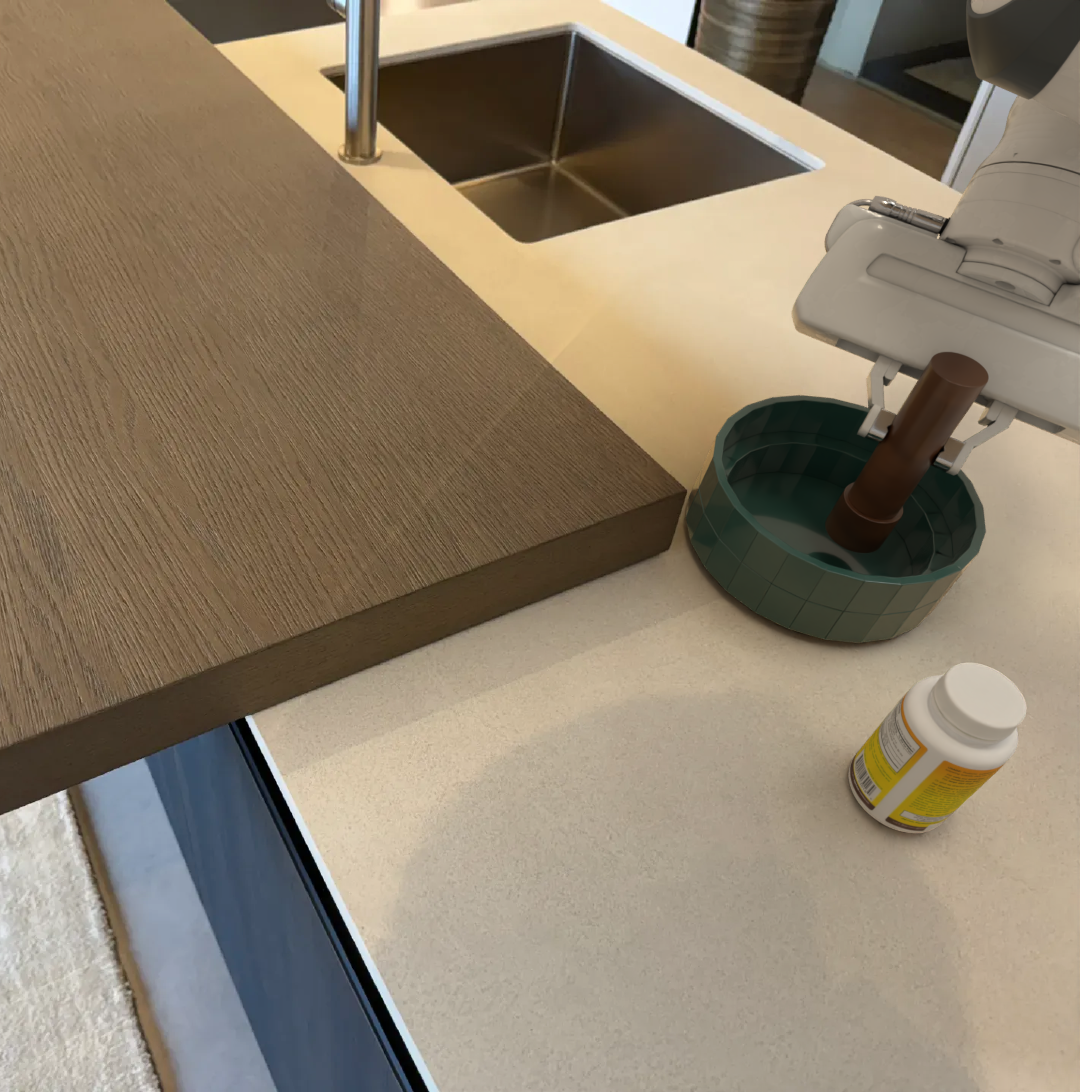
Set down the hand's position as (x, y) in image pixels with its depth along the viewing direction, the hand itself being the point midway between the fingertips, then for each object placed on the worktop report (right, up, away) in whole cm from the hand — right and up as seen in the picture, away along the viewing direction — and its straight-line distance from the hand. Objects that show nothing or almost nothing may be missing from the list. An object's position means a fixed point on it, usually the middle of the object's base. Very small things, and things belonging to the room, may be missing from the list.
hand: (906, 454), depth 63 cm
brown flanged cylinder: (0, -5, +6) cm, 8 cm away
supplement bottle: (-3, -20, -4) cm, 21 cm away
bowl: (-2, -6, +9) cm, 11 cm away
